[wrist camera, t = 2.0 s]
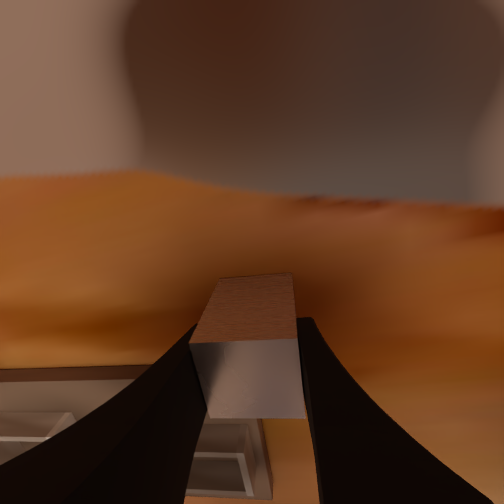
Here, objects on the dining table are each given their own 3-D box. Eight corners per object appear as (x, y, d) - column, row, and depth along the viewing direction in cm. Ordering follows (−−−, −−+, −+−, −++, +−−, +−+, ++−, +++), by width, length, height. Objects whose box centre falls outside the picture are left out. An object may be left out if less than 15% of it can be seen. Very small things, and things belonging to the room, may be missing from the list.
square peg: (297, 333, 13) (305, 418, 9) (231, 336, 14) (210, 418, 10) (291, 272, 12) (297, 338, 8) (219, 278, 12) (188, 343, 8)
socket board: (273, 482, 18) (271, 531, 16) (31, 472, 21) (0, 512, 19) (250, 361, 14) (244, 403, 12) (-43, 371, 17) (-93, 405, 15)
